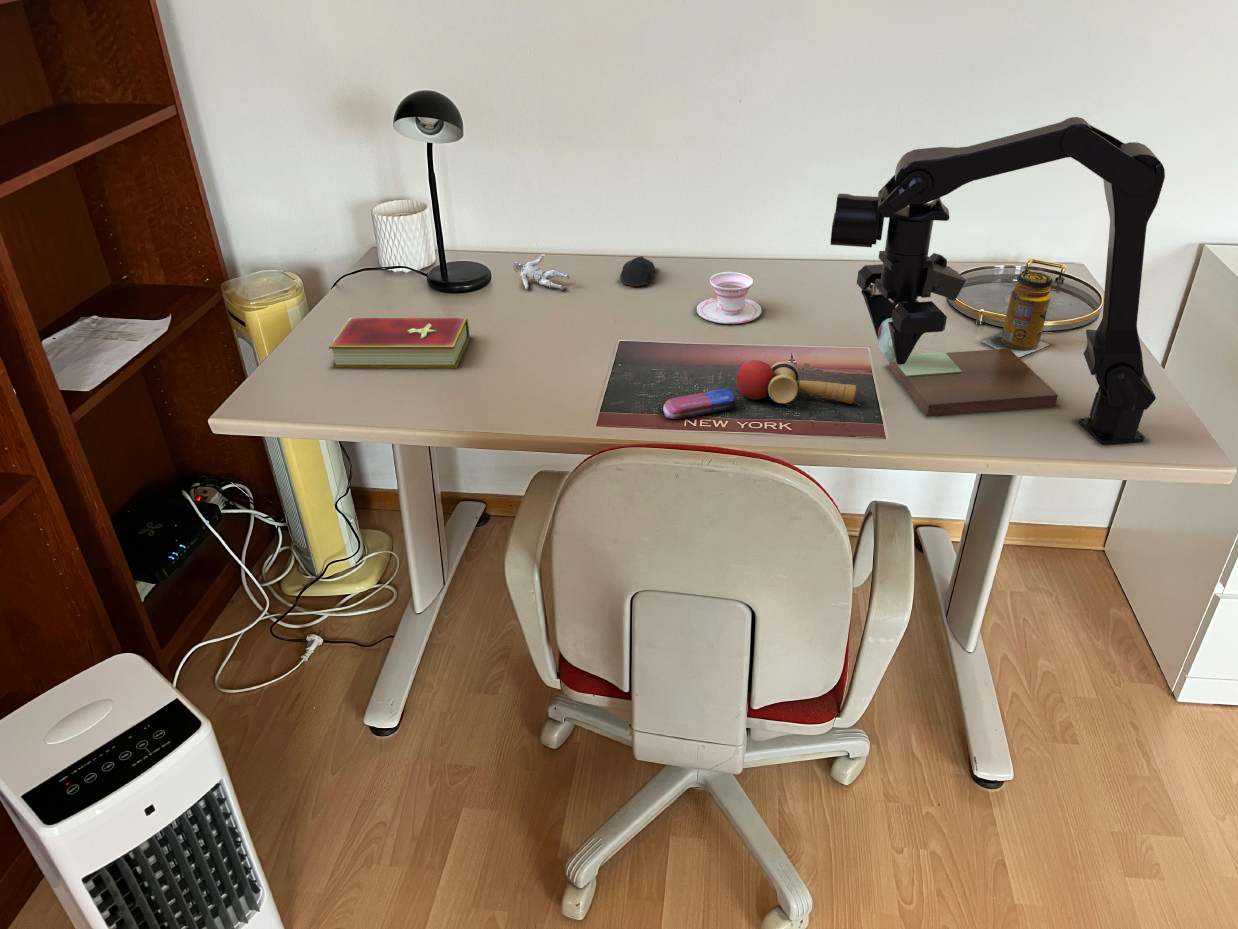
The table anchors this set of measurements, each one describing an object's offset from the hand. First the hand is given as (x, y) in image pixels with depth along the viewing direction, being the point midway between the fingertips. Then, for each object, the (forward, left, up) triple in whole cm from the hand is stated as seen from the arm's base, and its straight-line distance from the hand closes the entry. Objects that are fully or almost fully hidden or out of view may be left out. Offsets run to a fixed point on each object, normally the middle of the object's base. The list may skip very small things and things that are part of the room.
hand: (891, 352), depth 132 cm
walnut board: (+5, -16, -9) cm, 19 cm away
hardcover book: (+31, +74, -10) cm, 81 cm away
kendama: (+5, +12, -10) cm, 16 cm away
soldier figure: (+58, +49, -10) cm, 77 cm away
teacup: (+39, +15, -10) cm, 43 cm away
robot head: (0, 0, -2) cm, 2 cm away
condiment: (+18, -30, -10) cm, 36 cm away
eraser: (+4, +27, -10) cm, 29 cm away
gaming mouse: (+60, +29, -10) cm, 67 cm away
